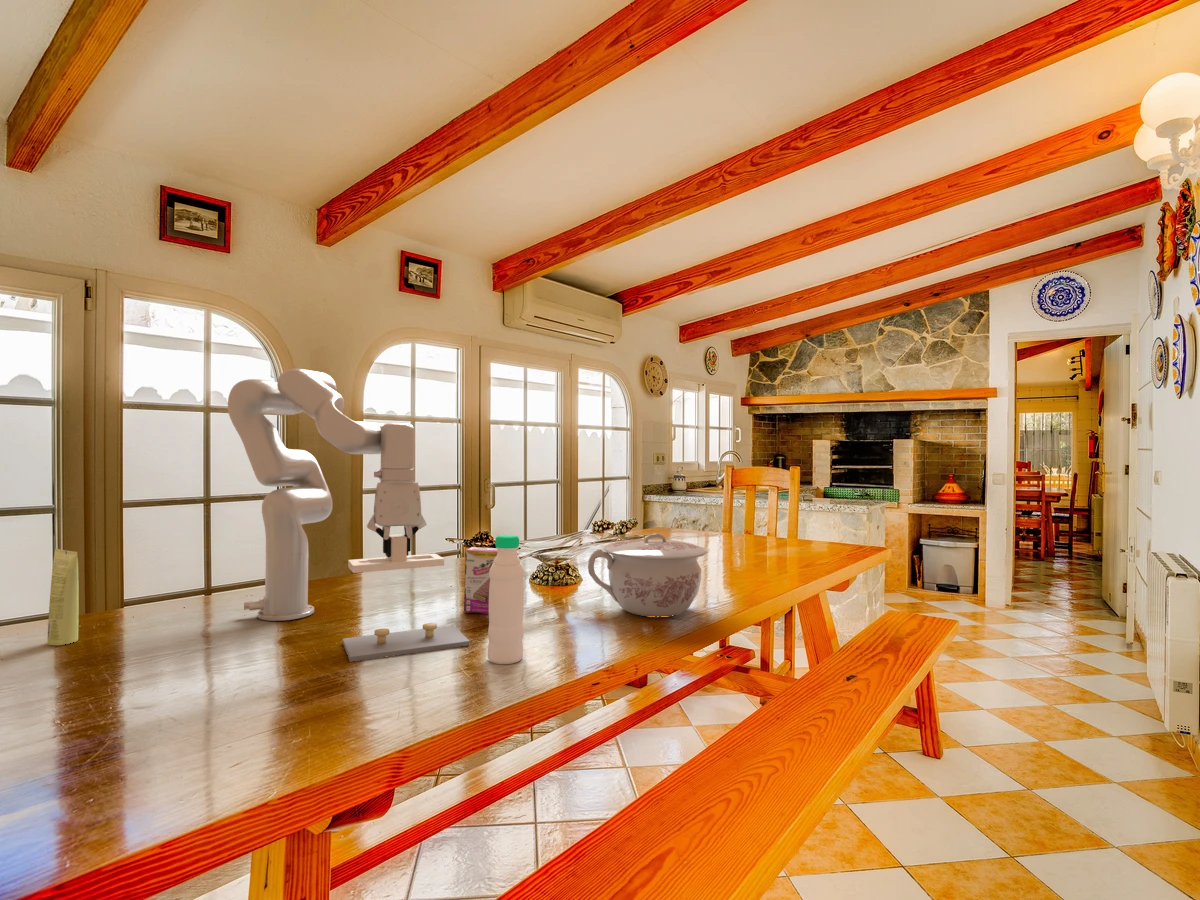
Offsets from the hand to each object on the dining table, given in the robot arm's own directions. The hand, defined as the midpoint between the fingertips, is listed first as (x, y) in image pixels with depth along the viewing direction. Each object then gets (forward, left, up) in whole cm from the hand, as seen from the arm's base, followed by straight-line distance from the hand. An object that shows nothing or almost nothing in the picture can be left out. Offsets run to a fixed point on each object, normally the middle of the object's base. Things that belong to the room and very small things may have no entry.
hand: (396, 554), depth 144 cm
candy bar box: (+24, +6, -18) cm, 30 cm away
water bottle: (+16, -30, -18) cm, 38 cm away
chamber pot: (+64, -11, -18) cm, 67 cm away
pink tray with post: (0, 0, -3) cm, 3 cm away
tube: (-64, +19, -18) cm, 69 cm away
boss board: (0, -12, -17) cm, 21 cm away
